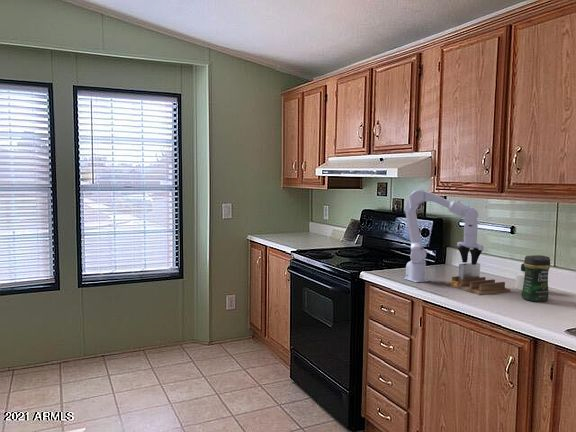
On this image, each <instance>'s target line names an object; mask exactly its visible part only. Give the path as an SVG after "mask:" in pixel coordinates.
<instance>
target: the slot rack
mask: <svg viewBox="0 0 576 432" xmlns="http://www.w3.org/2000/svg"><path fill="white" fill-rule="evenodd" d="M446 286H449V287H452V288H455V289H459V290H462V291H465V292H469V293H471V294H475V295H490V294H497V293H498V294H499V293H508V292H510V291H511V289H510V288H507V287H506V282H505V281H499V282H498V281H497V282H496V279H486V276H480V277H478V278H468V279H461V284H460V282H458V276H451V280H450V282H447V283H446Z"/></svg>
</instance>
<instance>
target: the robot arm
mask: <svg viewBox="0 0 576 432" xmlns="http://www.w3.org/2000/svg"><path fill="white" fill-rule="evenodd" d="M424 202H433V203H436V204H437V205H440V206H443V207H445V208H447V209H448V212H450V213H452V214H453V215H456V216H458V217H460V218H464V228H463V230H464V231H463V241H457V244H456V246H457V247H458V248H457V250H458V252H459V254H460V256H461V257H460V258H461V262H462V264H465V263H468V258H469V257H468V256H469V253H470V256H471V257H470V258H471V262H470V263H472V265H476V263H478V260H479V257H480V255H481V254H482V253H483V251H484V250H485V249H484V248H485V247H484V245H481V244H479V243H478V226H479V225H478V222H479V221H478V219H479V212H478V210H477V209H476V208H474V207H471V206H470V205H466V204H464V203H462V202H461V201H460V200H453V201H450V200H448V199H445V198H444V197H441V196H439V195H438V194H435V193H433V192H431V191H428V190H426V191H425V190H423V189H415V190H413V191H412V192H411V193H410V194H409V195H408V199H407V201H406V203H405V206H404V212H405V217H406V222H407V224H406V225H407V228H408V229H407V230H408V234H409V240H410V255H409V257H410V261H408V262H407V263H406V265H405V277H404V280H408V281H410V282H414V283H425V282H430V280H429V279H427V278H426V272H427V271H426V269H427V267H426V266H427V263H426V262H427V261H426V260H425V259H426V258H427V251H426V249H425V248H424V245H423V242H422V237H421V233H420V227H419V222H418V218H417V217H418V216H417V209H418V207H419V206H420V205H421V204H422V203H424Z"/></svg>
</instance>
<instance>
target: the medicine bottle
mask: <svg viewBox="0 0 576 432" xmlns="http://www.w3.org/2000/svg"><path fill="white" fill-rule="evenodd" d="M524 277H525V267H524V262H523V263H521V265H520V273H519V272H518V273H516V274H515V286H514V287H515V290H519V291H521V292H522V290H523V284H524Z"/></svg>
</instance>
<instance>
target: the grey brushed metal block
mask: <svg viewBox="0 0 576 432" xmlns="http://www.w3.org/2000/svg"><path fill="white" fill-rule="evenodd" d="M480 273H481V263H478V262H477V263H476V265H472V262H466V263H458V282H460V284H461V279H468V278H478V277H481V274H480Z"/></svg>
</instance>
